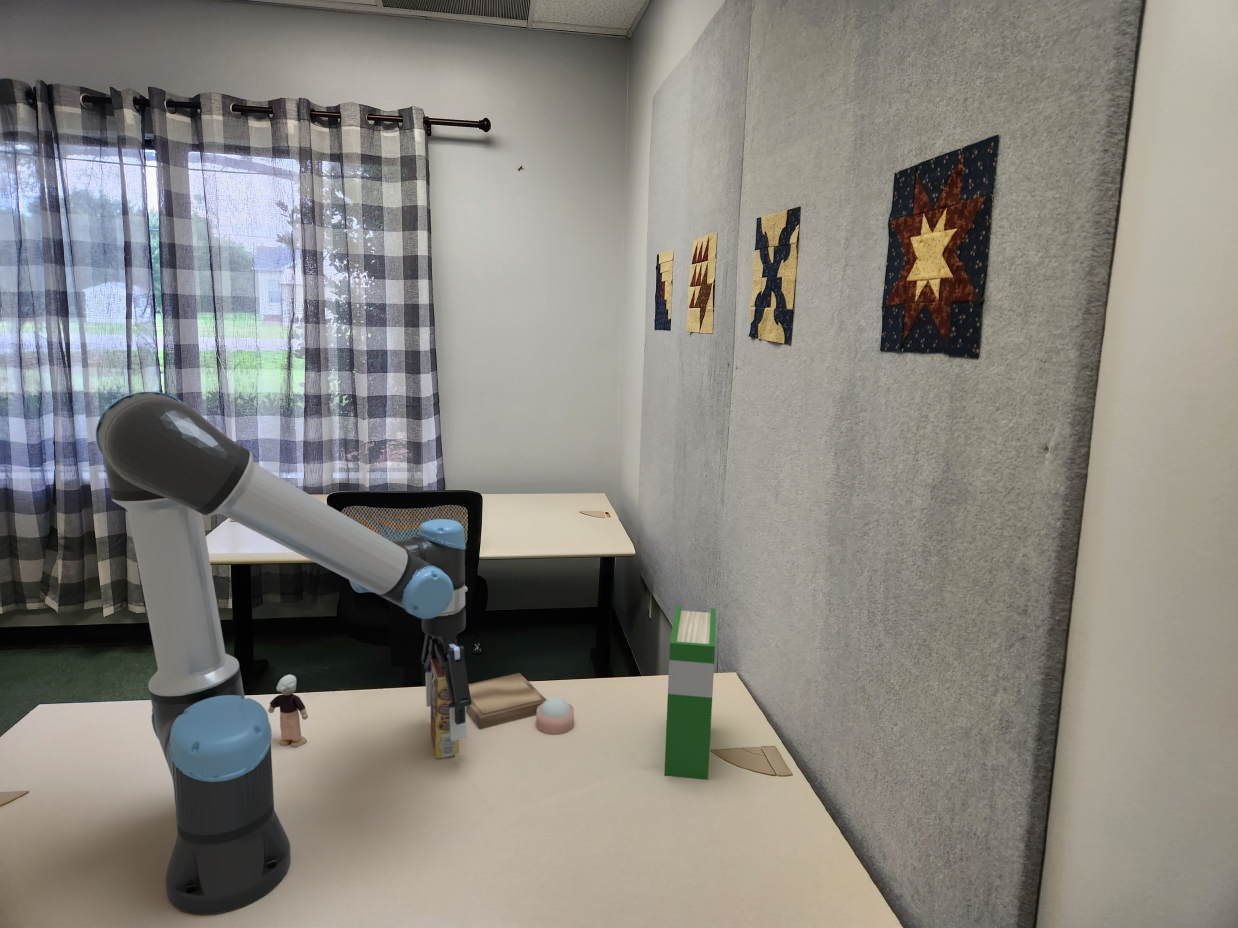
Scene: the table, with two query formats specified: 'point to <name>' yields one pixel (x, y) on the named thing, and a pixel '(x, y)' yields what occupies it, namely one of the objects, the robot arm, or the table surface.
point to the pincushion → (555, 716)
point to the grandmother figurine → (289, 712)
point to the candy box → (441, 713)
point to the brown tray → (503, 700)
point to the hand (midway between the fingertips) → (445, 720)
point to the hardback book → (690, 694)
